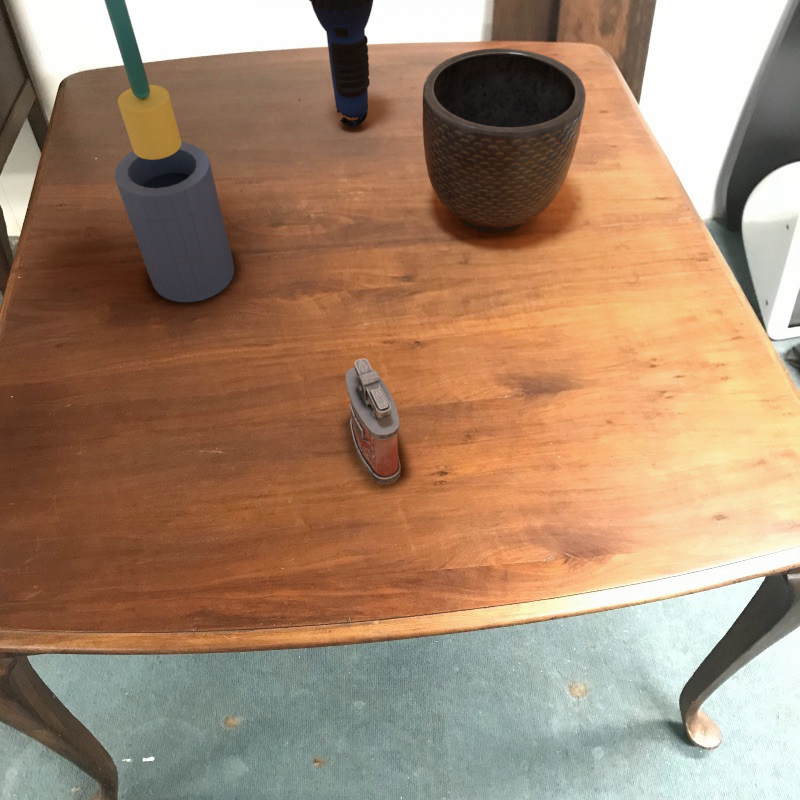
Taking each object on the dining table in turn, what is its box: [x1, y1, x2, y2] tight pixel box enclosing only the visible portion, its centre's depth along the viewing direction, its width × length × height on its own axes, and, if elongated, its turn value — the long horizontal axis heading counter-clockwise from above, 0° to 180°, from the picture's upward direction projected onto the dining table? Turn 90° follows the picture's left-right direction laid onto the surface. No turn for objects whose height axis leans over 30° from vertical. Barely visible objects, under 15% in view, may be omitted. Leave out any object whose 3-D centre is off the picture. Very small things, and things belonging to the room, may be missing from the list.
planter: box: [422, 47, 587, 235], centre depth 88 cm, size 17×17×16 cm
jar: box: [114, 141, 235, 303], centre depth 82 cm, size 9×9×14 cm
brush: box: [104, 0, 182, 160], centre depth 67 cm, size 5×5×21 cm
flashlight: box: [308, 0, 374, 128], centre depth 98 cm, size 8×8×20 cm
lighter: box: [345, 358, 402, 485], centre depth 68 cm, size 8×3×10 cm, turn 22°
